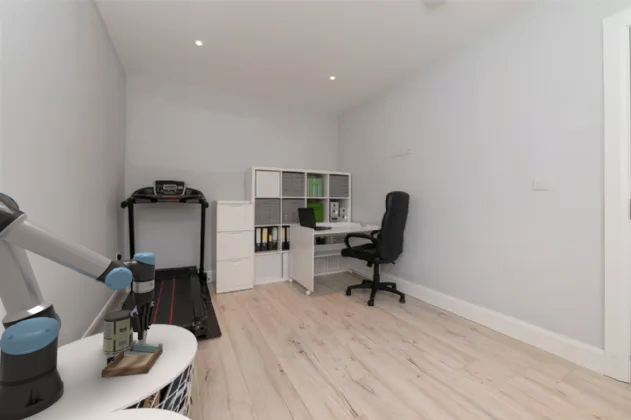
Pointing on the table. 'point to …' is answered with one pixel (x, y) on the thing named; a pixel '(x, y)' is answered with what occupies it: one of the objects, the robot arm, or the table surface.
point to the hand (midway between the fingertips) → (142, 346)
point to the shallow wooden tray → (130, 364)
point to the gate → (145, 347)
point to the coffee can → (117, 331)
